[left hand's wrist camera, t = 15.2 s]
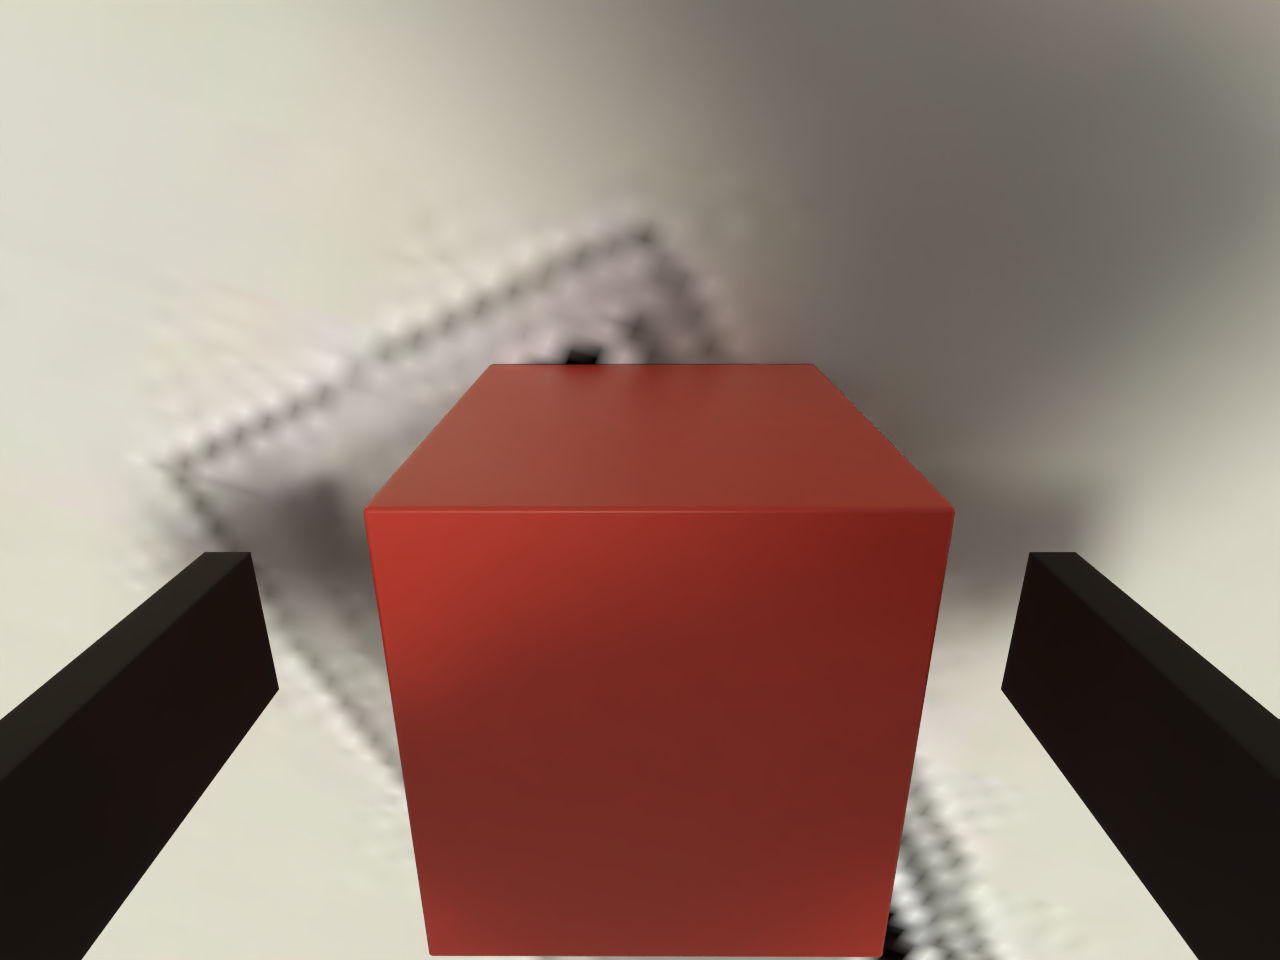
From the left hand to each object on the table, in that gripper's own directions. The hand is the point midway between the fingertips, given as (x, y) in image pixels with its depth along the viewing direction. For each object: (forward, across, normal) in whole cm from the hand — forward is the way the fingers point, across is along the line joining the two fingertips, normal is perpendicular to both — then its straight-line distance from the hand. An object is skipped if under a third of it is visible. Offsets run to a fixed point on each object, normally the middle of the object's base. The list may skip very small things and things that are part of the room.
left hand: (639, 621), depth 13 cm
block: (+4, 0, 0) cm, 4 cm away
